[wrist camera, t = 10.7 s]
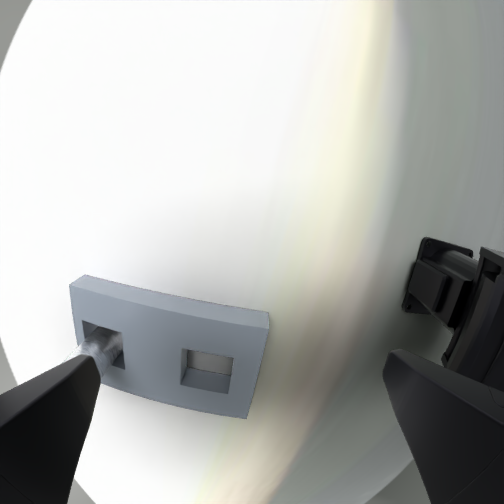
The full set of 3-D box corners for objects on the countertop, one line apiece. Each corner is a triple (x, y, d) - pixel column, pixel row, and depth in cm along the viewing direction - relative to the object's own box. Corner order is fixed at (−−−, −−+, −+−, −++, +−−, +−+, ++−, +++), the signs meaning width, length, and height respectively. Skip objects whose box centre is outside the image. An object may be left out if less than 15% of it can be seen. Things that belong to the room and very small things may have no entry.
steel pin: (132, 326, 22) (57, 426, 9) (127, 350, 22) (62, 447, 10) (104, 311, 21) (19, 398, 9) (100, 335, 22) (27, 422, 10)
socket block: (268, 312, 21) (269, 328, 18) (247, 400, 23) (246, 419, 21) (85, 274, 20) (69, 284, 18) (95, 362, 23) (84, 376, 21)
